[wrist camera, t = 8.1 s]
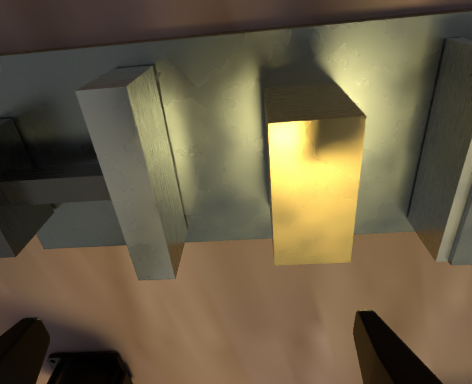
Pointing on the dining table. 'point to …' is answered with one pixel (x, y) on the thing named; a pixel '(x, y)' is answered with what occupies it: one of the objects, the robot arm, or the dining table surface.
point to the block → (313, 171)
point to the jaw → (104, 174)
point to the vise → (253, 123)
